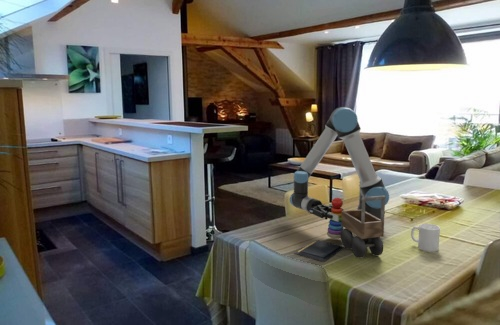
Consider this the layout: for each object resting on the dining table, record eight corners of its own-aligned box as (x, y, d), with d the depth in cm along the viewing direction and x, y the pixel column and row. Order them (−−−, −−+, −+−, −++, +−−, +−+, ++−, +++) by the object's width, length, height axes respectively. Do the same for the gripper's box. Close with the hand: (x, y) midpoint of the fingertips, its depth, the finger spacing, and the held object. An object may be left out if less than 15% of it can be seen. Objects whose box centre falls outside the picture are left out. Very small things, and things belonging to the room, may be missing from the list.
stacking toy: (331, 240, 181) (332, 200, 178) (324, 234, 189) (324, 196, 186) (347, 238, 183) (348, 199, 180) (339, 232, 191) (339, 194, 188)
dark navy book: (323, 259, 162) (292, 250, 171) (323, 263, 162) (292, 254, 172) (346, 245, 177) (316, 237, 187) (346, 249, 177) (316, 241, 187)
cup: (434, 253, 169) (435, 231, 167) (406, 246, 177) (407, 224, 176) (441, 248, 175) (442, 226, 173) (414, 241, 183) (415, 220, 181)
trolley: (359, 242, 183) (361, 186, 178) (383, 258, 165) (385, 196, 160) (340, 244, 181) (341, 187, 176) (361, 261, 162) (363, 198, 158)
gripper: (326, 210, 205) (358, 222, 185) (296, 215, 196) (327, 229, 176) (326, 196, 204) (359, 206, 184) (297, 201, 195) (328, 212, 175)
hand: (343, 217), depth 180 cm, fingers closed on stacking toy, 6 cm apart
